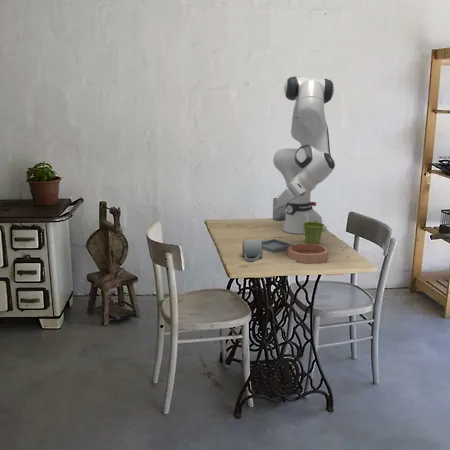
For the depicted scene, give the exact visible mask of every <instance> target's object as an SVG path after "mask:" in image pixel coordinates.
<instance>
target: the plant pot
mask: <svg viewBox="0 0 450 450" xmlns="http://www.w3.org/2000/svg"><path fill="white" fill-rule="evenodd" d="M324 225H325V224H324V223H323V222H322V223H318V222H305V223H303V226H304V230H305V234H304V240H305V244H307V243H308V244H317V245H319V244H320V243H321V236H322V232H323V230H322V229H323V227H324Z"/></svg>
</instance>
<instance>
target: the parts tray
mask: <svg viewBox="0 0 450 450" xmlns="http://www.w3.org/2000/svg"><path fill="white" fill-rule="evenodd" d="M262 241H263V251H264V250H265V251H267V252H270V253H277V252H282V251H285V250H286V251H287V250H288V247H289V246H291V245H295V243H290V242H286V241H283V240H280V239H277V238H271V239H267V240H262Z"/></svg>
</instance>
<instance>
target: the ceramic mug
mask: <svg viewBox="0 0 450 450" xmlns="http://www.w3.org/2000/svg"><path fill="white" fill-rule="evenodd" d="M263 241H264V240H263V239H262V238H259V239H257V238H256V239H255V238H254V239H245V240H243V241H242V248H241V249H242V256H243V257H244V259H245V261H247V262H248V263H254V262H255V261H258V260H259V259H262V258H263V254H264V250H263Z"/></svg>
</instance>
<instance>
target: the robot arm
mask: <svg viewBox="0 0 450 450" xmlns="http://www.w3.org/2000/svg"><path fill="white" fill-rule="evenodd" d="M283 89H284V90H283V92H284V95H285V97H286V99H287V100H289V101H293V102H294V101H295V102H294V106H293V111H292V119H291V128H290V135H291V137H292V138H293V139H294V140H296V141H297V142H299V144H300V146H299V148H282V149H278V150H277V151H276V152H275V154H274V155H273V158H272V159H273V160H272V161H273V165H274V168H275V169H277V170H278V171H279V172H280V173H281V175H282V177H283V178H284V180H285V184H286V188H285V189H284V190H283V192H281V194H280V195H278V196H279V197H278V198H277V202H278V203H277V204H276V205H275V206H274V208H275V209H276V210H277V209H278V208H280V207H281V206H284V205H285V204H286V220H285V221H283V224H282V231H283V232H285V233H290V234H297V235H298V234H299V235H301V234H302V235H303V234H304V235H305V230H304V226H303V223H305V222H318V223H322V224H323V219H322V216H321V214H319V213H318V212H317V211H315V210H314V208H313V207H316V206H317V202H316V201H311V195H312V194H311V192H312V191H314V190H315V189H316V187H317V186H318V185H319V184H321V183H322V182H323V181H324V180H326V179H327V178H328V177H329V175H331V173H333V171H334V170H335V167H336V163H335V160H334V159H333V158H332V155H331V146H330V135H329V128H328V124H327V120H326V115H325V104H326V103H329V101H331V100H332V98H333V96H334V92H335V87H334V82H333V81H332V80H331V79H328V78H320V77H314V76H310V77H309V76H289V77H288V79H287V80H286V82H285V84H284V88H283ZM327 229H328V226H326V225H325V224H324V227H323V229H322V231H324V230H327Z"/></svg>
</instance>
